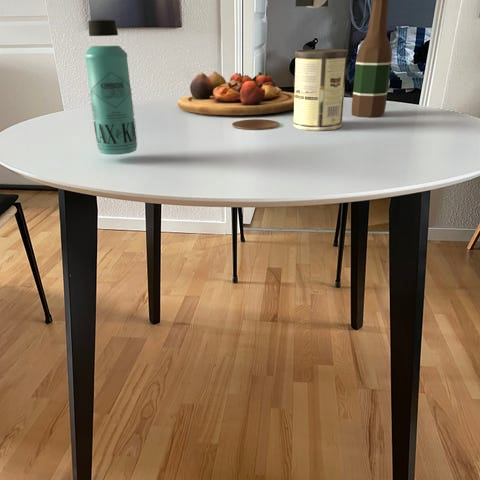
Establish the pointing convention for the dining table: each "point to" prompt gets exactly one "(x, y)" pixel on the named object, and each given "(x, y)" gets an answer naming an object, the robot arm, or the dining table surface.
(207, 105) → the wooden plate
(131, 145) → the beverage bottle
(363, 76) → the beer bottle
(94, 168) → the dining table surface
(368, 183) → the dining table surface
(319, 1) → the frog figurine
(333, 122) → the coffee can
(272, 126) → the coaster
